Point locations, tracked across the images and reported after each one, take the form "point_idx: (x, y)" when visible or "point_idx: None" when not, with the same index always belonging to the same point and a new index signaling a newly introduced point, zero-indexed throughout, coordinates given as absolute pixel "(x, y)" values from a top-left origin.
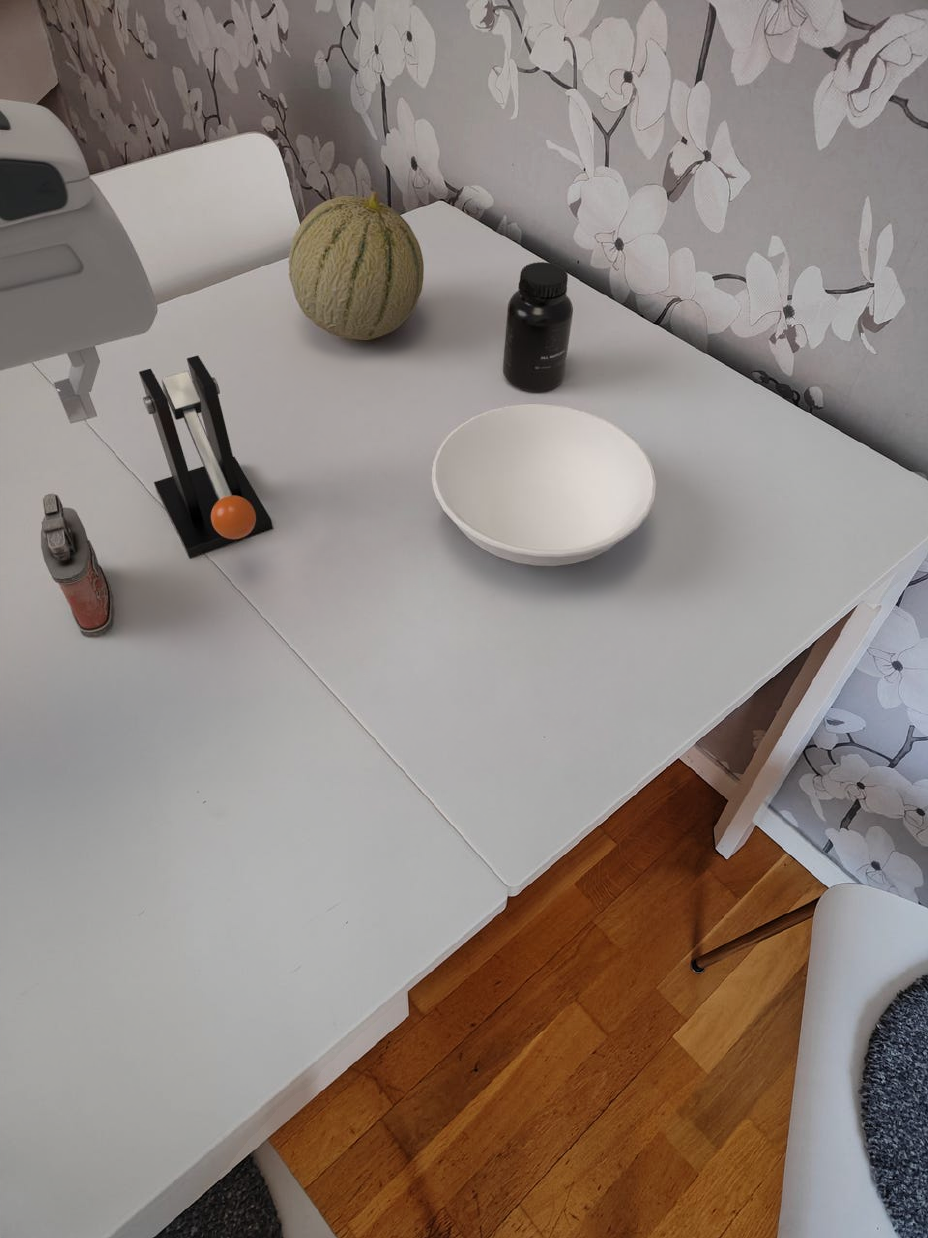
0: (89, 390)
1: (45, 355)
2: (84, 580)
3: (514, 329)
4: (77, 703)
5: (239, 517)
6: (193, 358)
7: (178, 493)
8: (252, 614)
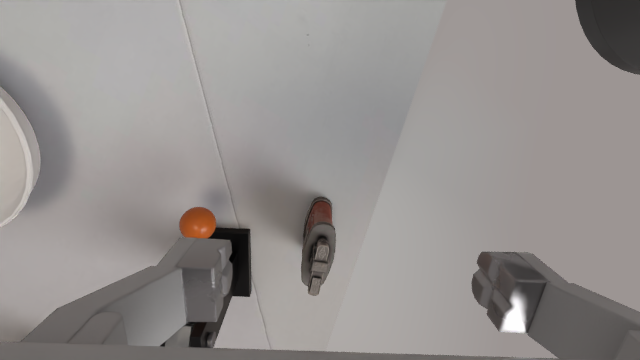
0: (149, 268)
1: (130, 352)
2: (316, 222)
3: None
4: (351, 154)
5: (191, 216)
6: None
7: (236, 279)
8: (226, 164)
